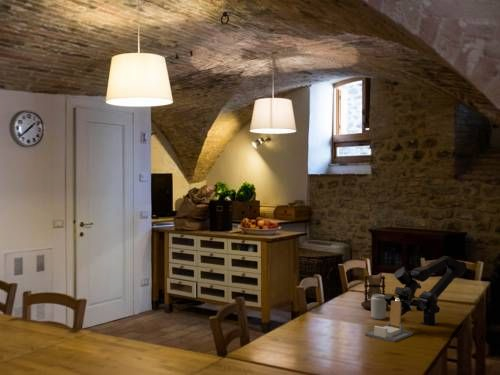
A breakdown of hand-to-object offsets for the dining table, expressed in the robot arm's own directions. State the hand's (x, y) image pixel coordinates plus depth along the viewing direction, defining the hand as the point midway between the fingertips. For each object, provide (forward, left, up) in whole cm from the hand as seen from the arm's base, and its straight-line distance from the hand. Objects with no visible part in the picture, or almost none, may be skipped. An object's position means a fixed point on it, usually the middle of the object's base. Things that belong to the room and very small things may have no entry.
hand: (397, 317), depth 256 cm
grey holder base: (+7, 0, -7) cm, 10 cm away
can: (-16, -20, -7) cm, 26 cm away
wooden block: (+2, 0, -3) cm, 4 cm away
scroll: (-33, -33, -7) cm, 47 cm away
